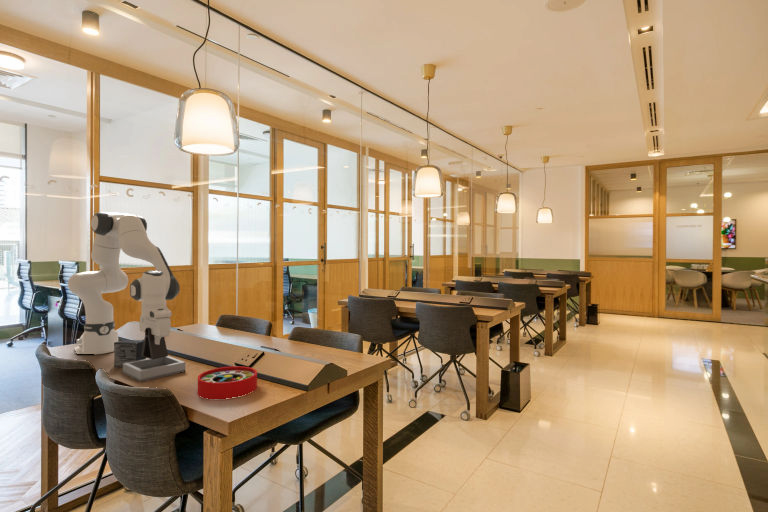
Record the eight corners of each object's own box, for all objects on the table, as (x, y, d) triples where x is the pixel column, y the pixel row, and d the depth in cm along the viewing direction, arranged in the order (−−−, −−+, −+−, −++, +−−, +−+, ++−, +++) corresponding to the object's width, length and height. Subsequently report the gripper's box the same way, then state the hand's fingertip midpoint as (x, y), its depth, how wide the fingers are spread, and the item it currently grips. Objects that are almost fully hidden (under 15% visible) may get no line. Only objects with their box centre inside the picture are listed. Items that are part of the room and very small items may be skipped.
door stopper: (140, 356, 169) (140, 326, 169) (155, 353, 174) (155, 324, 174) (153, 359, 164) (153, 329, 164) (168, 356, 169) (168, 326, 169)
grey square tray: (122, 373, 168) (122, 363, 168) (166, 364, 181) (166, 355, 181) (140, 382, 157) (140, 371, 157) (185, 371, 171) (185, 362, 170)
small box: (147, 363, 182) (147, 339, 182) (136, 368, 175) (136, 343, 175) (124, 362, 183) (124, 339, 183) (113, 367, 176) (113, 342, 176)
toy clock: (266, 367, 158) (240, 384, 138) (266, 383, 158) (240, 402, 139) (217, 365, 161) (185, 381, 141) (217, 380, 161) (185, 398, 141)
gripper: (135, 309, 173) (135, 342, 173) (157, 314, 160) (157, 350, 160) (151, 307, 178) (151, 339, 178) (173, 312, 165) (173, 347, 165)
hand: (154, 344), depth 169 cm, fingers closed on door stopper, 3 cm apart
